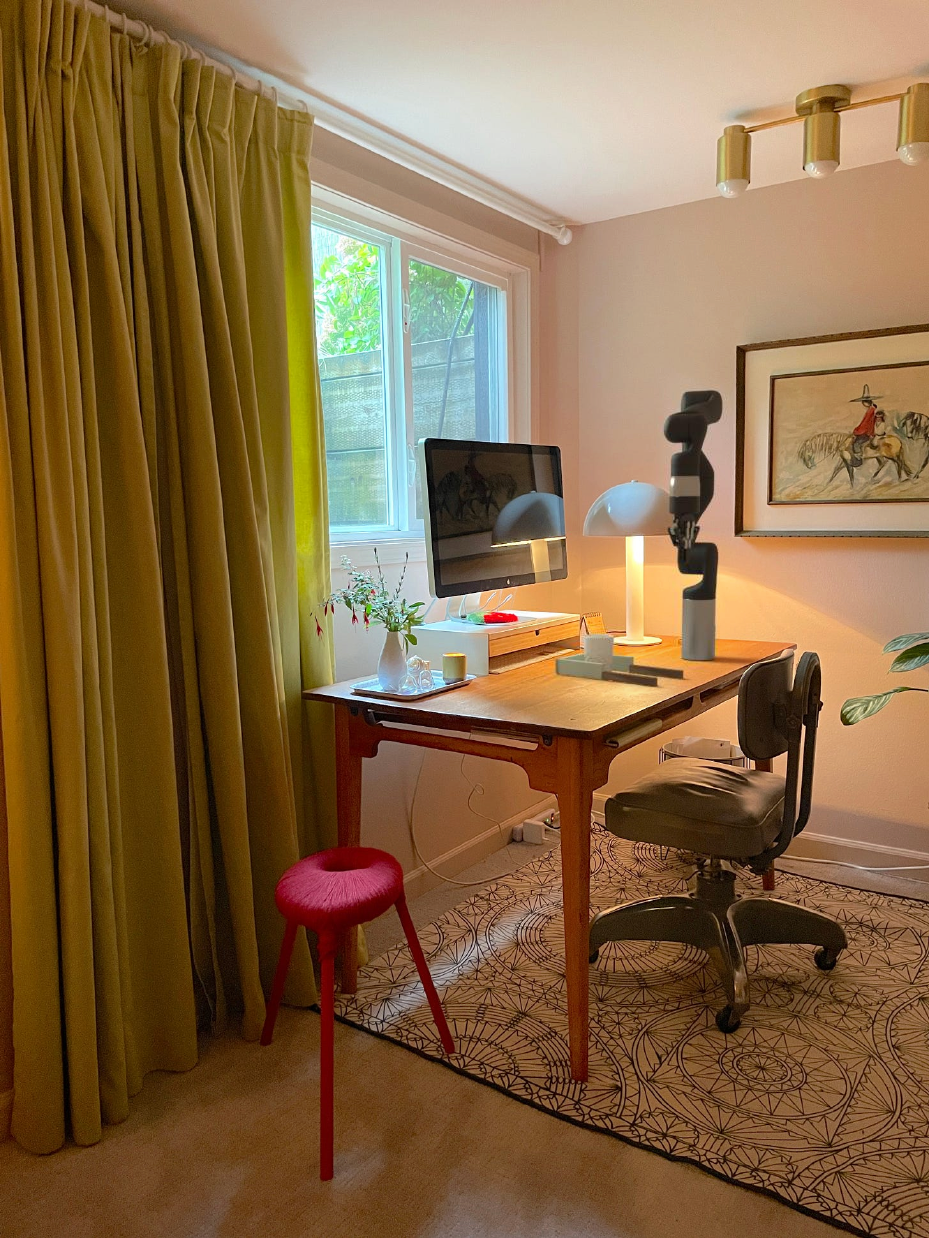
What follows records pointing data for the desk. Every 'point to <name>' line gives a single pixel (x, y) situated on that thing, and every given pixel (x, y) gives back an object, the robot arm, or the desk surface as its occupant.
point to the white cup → (599, 649)
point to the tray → (589, 666)
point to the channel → (645, 671)
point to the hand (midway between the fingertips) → (683, 563)
